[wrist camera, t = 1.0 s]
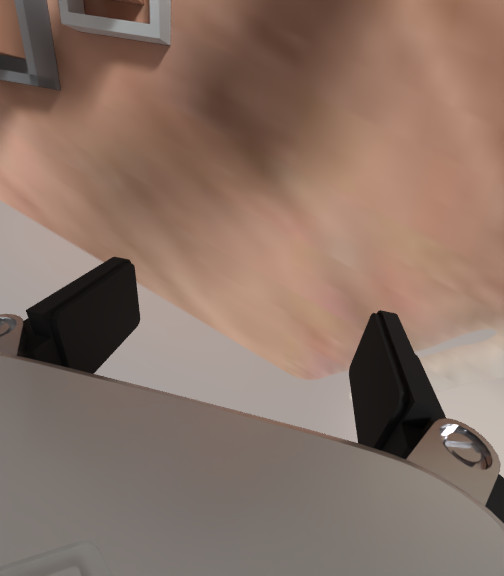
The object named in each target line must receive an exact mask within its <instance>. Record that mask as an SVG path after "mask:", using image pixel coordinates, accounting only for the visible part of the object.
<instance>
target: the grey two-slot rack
mask: <svg viewBox="0 0 504 576" xmlns="http://www.w3.org/2000/svg"><path fill="white" fill-rule="evenodd" d="M14 1H15V6H16V11H17V16H18V22H19V27H20V32H21V37H22V42H23V47H24V52H25V57H26V60H25V59H19V58H13V57H7V56H1V55H0V80H4V81H10V82H16V83H21V84H27V85H33V86H38V87H44V88H50V89H55V90H61V89H60V83H59V76H58V70H57V63H56V57H55V51H54V44H53V38H52V31H51V25H50V18H49V12H48V6H47V0H14Z"/></svg>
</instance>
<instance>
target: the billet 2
mask: <svg viewBox="0 0 504 576" xmlns="http://www.w3.org/2000/svg"><path fill="white" fill-rule="evenodd" d="M114 1H121V2H128V3H135V4H142V5H144V0H114Z"/></svg>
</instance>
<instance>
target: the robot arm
mask: <svg viewBox="0 0 504 576" xmlns="http://www.w3.org/2000/svg"><path fill="white" fill-rule="evenodd" d="M136 285H137V284H136V275H135V267H134V265H133V264H131V262H130V260H128V259H123V258H118V257H112V258H111V259H109V260H107V261H106V262H104V263H103V264H101V265H99V266H98V267H96V268H95V269H93V270H91V271H89V272H88V273H86V274H85V275H83V276H81V277H80V278H78V279H76V280H75V281H73V282H71V283H70V284H68V285H67V286H65V287H63V288H62V289H60V290H58V291H57V292H55V293H53V294H52V295H50V296H49V297H47V298H45V299H44V300H42V301H40V302H39V303H37V304H36V305H34V306H32V307H30V308H29V309H27V310H26V312H27V315H28V319H26V320H25V321H23V319H22V318H21V317H19V316H17V315H13V314H1V315H0V576H504V478H503V477H502V476H501V475H499V472H500V461H499V458H498V455H497V453H496V452H495V450H494V449H493V447H492V446H491V444H490V443H489V442H488V441H487V440H486V439H485V438H484V437H483V436H482V435H480V434H479V433H478V432H477V431H475V430H474V429H472V428H471V427H469V426H467V425H466V424H464V423H462V422H459V421H456V420H453V419H447V418H446V417H445V414H444V412H443V410H442V408H441V406H440V403H439V401H438V399H437V397H436V395H435V392H434V390H433V388H432V386H431V384H430V382H429V379H428V377H427V375H426V373H425V371H424V368H423V366H422V364H421V362H420V360H419V358H418V356H417V355H415V353H414V351H413V349H412V347H411V344H410V342H409V340H408V338H407V335H406V333H405V331H404V329H403V326H402V324H401V322H400V320H399V317H398V315H397V314H395V313H390V312H386V311H381V310H380V311H378V312H377V314H376V313H372V315H371V316H370V319H369V321H368V324H367V326H366V329H365V331H364V333H363V336H362V338H361V341H360V343H359V346H358V348H357V351H356V353H355V355H354V358H353V360H352V363H351V365H350V369H349V379H350V386H351V393H352V401H353V407H354V415H355V423H356V430H357V437H358V443H355V442H351V441H348V440H344V439H341V438H337V437H333V436H330V435H326V434H323V433H319V432H315V431H312V430H309V429H305V428H301V427H297V426H293V425H290V424H286V423H282V422H278V421H274V420H271V419H267V418H263V417H259V416H255V415H252V414H248V413H243V412H240V411H236V410H232V409H228V408H225V407H221V406H217V405H213V404H209V403H205V402H201V401H197V400H194V399H190V398H186V397H182V396H178V395H174V394H170V393H167V392H163V391H159V390H155V389H151V388H147V387H143V386H139V385H135V384H131V383H127V382H123V381H119V380H115V379H111V378H107V377H103V376H99V375H95V374H94V373H95V372H96V371H97V369H98V368H99V367H100V366H101V365H102V364H103V363H104V362H105V361H106V360H107V359H108V358H109V356H110V355H111V354H112V353H113V352H114V351H115V350H116V349H117V348H118V347H119V346H120V345H121V344H122V342H123V341H124V340H125V339H126V338H127V337H128V336H129V335H130V334H131V333H132V332H133V330H134V329H135V328H136V327H137V326H138V324H139V322H140V312H139V304H138V294H137V286H136Z"/></svg>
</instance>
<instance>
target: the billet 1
mask: <svg viewBox="0 0 504 576" xmlns="http://www.w3.org/2000/svg"><path fill="white" fill-rule="evenodd" d="M0 55H1V56H7V57H13V58H19V59H25V60H26V57H25V52H24V47H23V42H22V37H21V32H20V27H19V22H18V16H17V11H16V6H15V1H14V0H0Z"/></svg>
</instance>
